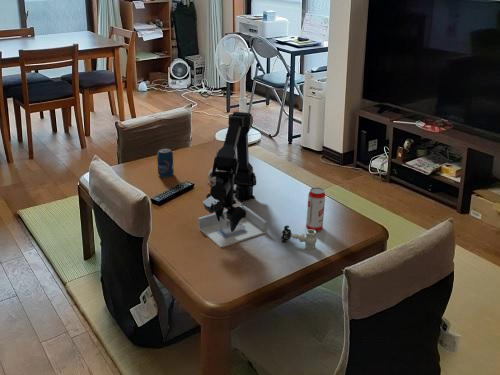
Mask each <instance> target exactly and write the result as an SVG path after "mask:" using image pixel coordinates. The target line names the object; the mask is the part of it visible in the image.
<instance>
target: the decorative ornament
mask: <svg viewBox="0 0 500 375" xmlns="http://www.w3.org/2000/svg"><path fill="white" fill-rule="evenodd" d="M217 153H218V151H216V153H215V154H216V156H217ZM216 156H215V157H216ZM212 171H213V167H212V168H211V169H210V170H209V171H208V173H207V178H208V181H207V184H208V185H209V186H211V187H212V186H213V184H214V183H215V181H216V177H212ZM216 171H218V172H221V171H222V170H217V168H216Z"/></svg>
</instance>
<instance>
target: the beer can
mask: <svg viewBox="0 0 500 375" xmlns="http://www.w3.org/2000/svg"><path fill="white" fill-rule="evenodd" d="M309 189H310V190H309V192H308V196H307V206H306V207H307V210H306V224H305V228H306V229H307V230H309V229H313V230H315V231H316V233H318V232H320V231H322V229H323V227H324V216H325V203H326V193H325V189H324V188H321V187H311V188H309Z"/></svg>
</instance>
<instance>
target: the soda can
mask: <svg viewBox="0 0 500 375" xmlns="http://www.w3.org/2000/svg"><path fill="white" fill-rule="evenodd" d="M156 158H157V162H156V163H157V174H158V175H159V177H160V178H165V179H166V178H172V176H173V175H174V173H175V172H174V153H173V151H172V149H171V148H169V147H161V148H159V149H158V150H157V154H156Z"/></svg>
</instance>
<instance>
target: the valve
mask: <svg viewBox="0 0 500 375" xmlns="http://www.w3.org/2000/svg"><path fill="white" fill-rule="evenodd" d="M281 231H282V232H281V234H282V235H281V238H280V239H281V243H282V244H286V243H287V242H288V241H290V239H295V240H297V239H298V240H299V242H300V243H304V247H305V250H307V251H308V250H309V251H313V250H315V249H316V243H317V232H316V231H315V230H313V229H309V230H308V229H307V230H306V231H305V233H301V234H297V233H292V230H291V229H290V225H287V224H286V225H284V226H283V230H281Z"/></svg>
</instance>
